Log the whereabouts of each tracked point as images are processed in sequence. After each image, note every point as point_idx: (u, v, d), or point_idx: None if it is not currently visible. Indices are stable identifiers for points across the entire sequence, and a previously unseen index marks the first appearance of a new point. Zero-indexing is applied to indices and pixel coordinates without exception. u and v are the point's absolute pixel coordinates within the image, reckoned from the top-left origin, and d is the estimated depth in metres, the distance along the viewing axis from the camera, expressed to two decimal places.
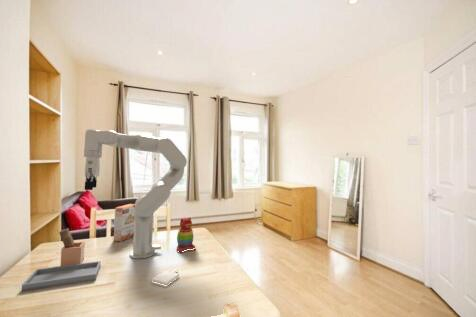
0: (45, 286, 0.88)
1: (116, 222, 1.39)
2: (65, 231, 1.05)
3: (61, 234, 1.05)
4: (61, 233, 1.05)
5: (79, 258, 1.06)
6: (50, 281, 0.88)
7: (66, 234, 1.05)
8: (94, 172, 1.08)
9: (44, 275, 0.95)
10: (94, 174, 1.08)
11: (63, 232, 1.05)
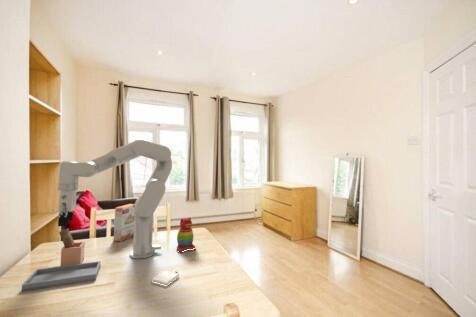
0: (45, 286, 0.88)
1: (116, 222, 1.39)
2: (65, 231, 1.05)
3: (61, 234, 1.05)
4: (61, 233, 1.05)
5: (79, 258, 1.06)
6: (50, 281, 0.88)
7: (66, 234, 1.05)
8: (68, 207, 1.03)
9: (44, 275, 0.95)
10: (68, 209, 1.03)
11: (63, 232, 1.05)
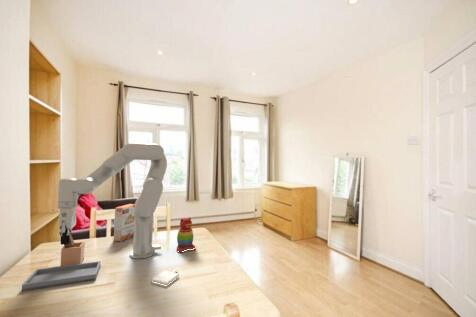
0: (45, 286, 0.88)
1: (116, 222, 1.39)
2: None
3: None
4: None
5: (79, 258, 1.06)
6: (50, 281, 0.88)
7: None
8: (68, 224, 1.03)
9: (44, 275, 0.95)
10: (69, 226, 1.03)
11: None
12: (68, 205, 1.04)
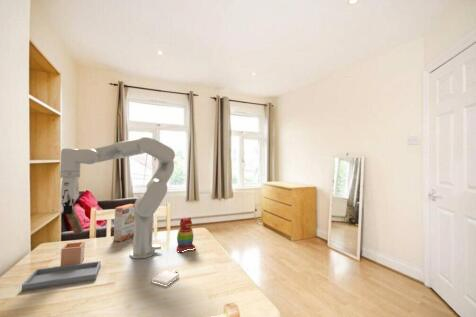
0: (45, 286, 0.88)
1: (116, 222, 1.39)
2: None
3: None
4: None
5: (79, 258, 1.06)
6: (50, 281, 0.88)
7: None
8: (71, 194, 1.02)
9: (44, 275, 0.95)
10: (71, 196, 1.02)
11: None
12: (70, 174, 1.03)
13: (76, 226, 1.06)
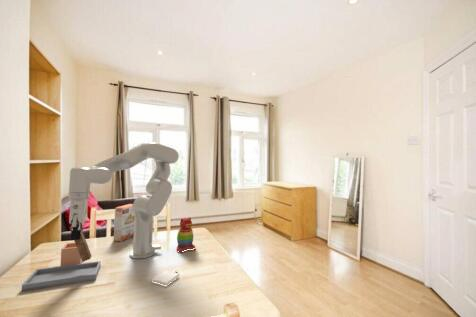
0: (45, 286, 0.88)
1: (116, 222, 1.39)
2: None
3: None
4: None
5: (79, 258, 1.06)
6: (50, 281, 0.88)
7: None
8: (80, 218, 0.93)
9: (44, 275, 0.95)
10: (80, 220, 0.93)
11: None
12: (80, 196, 0.94)
13: (84, 252, 0.97)
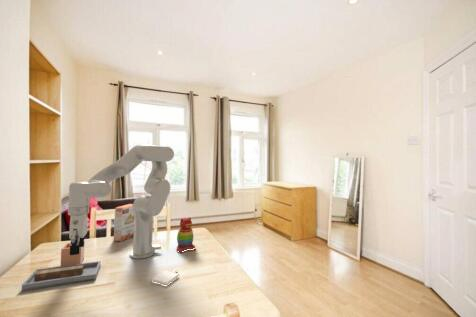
0: (45, 286, 0.88)
1: (116, 222, 1.39)
2: (36, 275, 0.90)
3: (38, 279, 0.90)
4: (36, 279, 0.90)
5: (79, 258, 1.06)
6: (50, 281, 0.88)
7: (41, 275, 0.91)
8: (80, 233, 0.93)
9: None
10: (80, 235, 0.93)
11: (36, 277, 0.90)
12: (80, 211, 0.94)
13: (72, 271, 0.95)
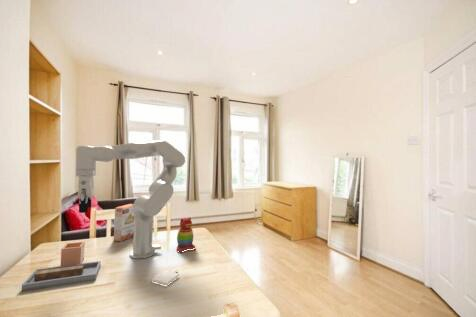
0: (45, 286, 0.88)
1: (116, 222, 1.39)
2: (36, 275, 0.90)
3: (38, 279, 0.90)
4: (36, 279, 0.90)
5: (79, 258, 1.06)
6: (50, 281, 0.88)
7: (41, 275, 0.91)
8: (88, 193, 0.99)
9: None
10: (89, 195, 0.99)
11: (36, 277, 0.90)
12: (87, 173, 1.00)
13: (72, 271, 0.95)
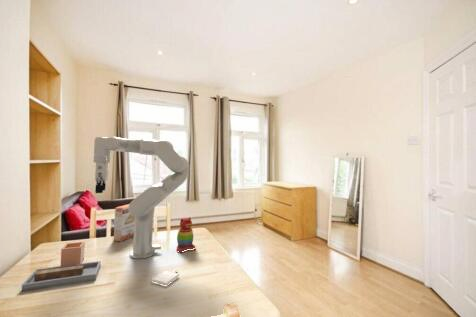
0: (45, 286, 0.88)
1: (116, 222, 1.39)
2: (36, 275, 0.90)
3: (38, 279, 0.90)
4: (36, 279, 0.90)
5: (79, 258, 1.06)
6: (50, 281, 0.88)
7: (41, 275, 0.91)
8: (104, 176, 1.17)
9: None
10: (104, 178, 1.17)
11: (36, 277, 0.90)
12: (103, 160, 1.18)
13: (72, 271, 0.95)
